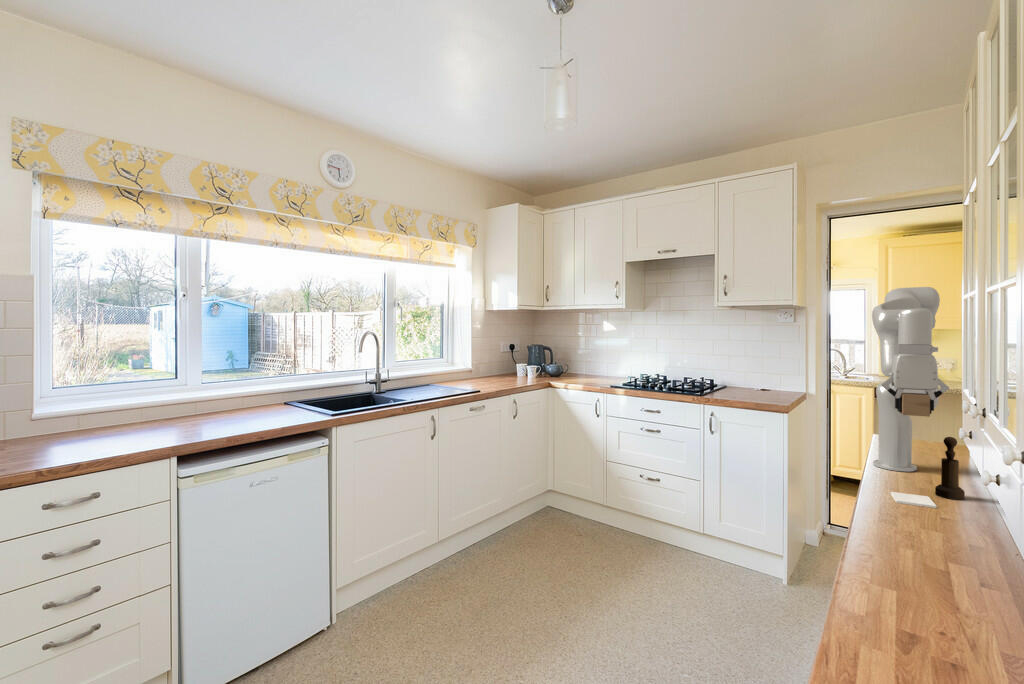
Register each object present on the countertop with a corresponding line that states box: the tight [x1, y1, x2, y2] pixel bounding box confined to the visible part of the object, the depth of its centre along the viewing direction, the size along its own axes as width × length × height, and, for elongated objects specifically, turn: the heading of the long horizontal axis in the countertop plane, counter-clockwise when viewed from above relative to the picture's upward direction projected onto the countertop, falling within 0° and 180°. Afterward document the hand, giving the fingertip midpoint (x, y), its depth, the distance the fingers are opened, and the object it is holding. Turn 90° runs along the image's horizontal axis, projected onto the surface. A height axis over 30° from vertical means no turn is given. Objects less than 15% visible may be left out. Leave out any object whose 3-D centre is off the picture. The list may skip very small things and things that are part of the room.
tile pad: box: [890, 491, 938, 509], centre depth 143 cm, size 9×9×1 cm
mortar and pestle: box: [934, 436, 966, 501], centre depth 146 cm, size 7×6×18 cm
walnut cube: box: [899, 393, 931, 418], centre depth 142 cm, size 6×6×6 cm
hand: (913, 411), depth 142 cm, fingers closed on walnut cube, 6 cm apart
